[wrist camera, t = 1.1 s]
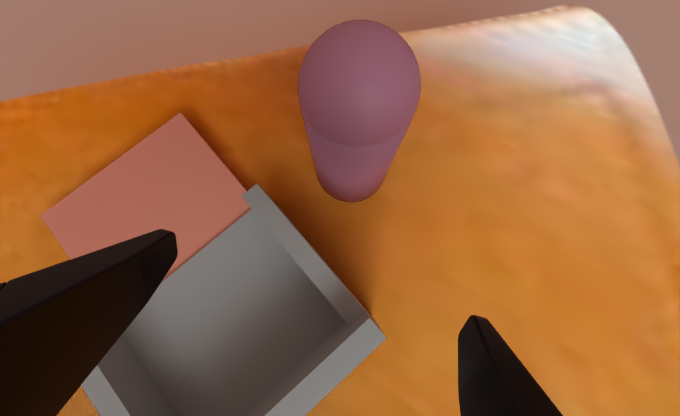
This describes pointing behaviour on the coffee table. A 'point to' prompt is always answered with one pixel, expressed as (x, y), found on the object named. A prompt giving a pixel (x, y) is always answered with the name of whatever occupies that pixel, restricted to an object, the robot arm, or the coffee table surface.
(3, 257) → the coffee table surface
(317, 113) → the yam
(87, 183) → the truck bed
